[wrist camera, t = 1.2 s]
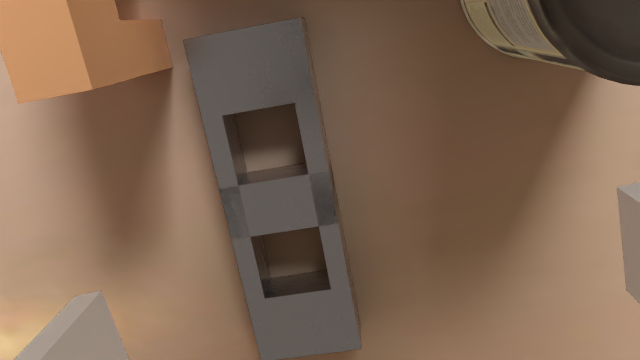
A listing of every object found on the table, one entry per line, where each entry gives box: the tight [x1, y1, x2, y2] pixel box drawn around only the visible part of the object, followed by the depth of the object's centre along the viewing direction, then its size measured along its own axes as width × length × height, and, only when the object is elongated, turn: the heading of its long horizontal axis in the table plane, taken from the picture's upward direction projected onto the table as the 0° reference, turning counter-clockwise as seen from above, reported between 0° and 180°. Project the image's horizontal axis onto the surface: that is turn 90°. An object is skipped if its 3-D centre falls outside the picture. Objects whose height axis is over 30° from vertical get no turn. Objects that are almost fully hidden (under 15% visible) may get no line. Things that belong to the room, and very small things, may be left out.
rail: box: [183, 17, 361, 360], centre depth 36 cm, size 22×7×3 cm, turn 10°
